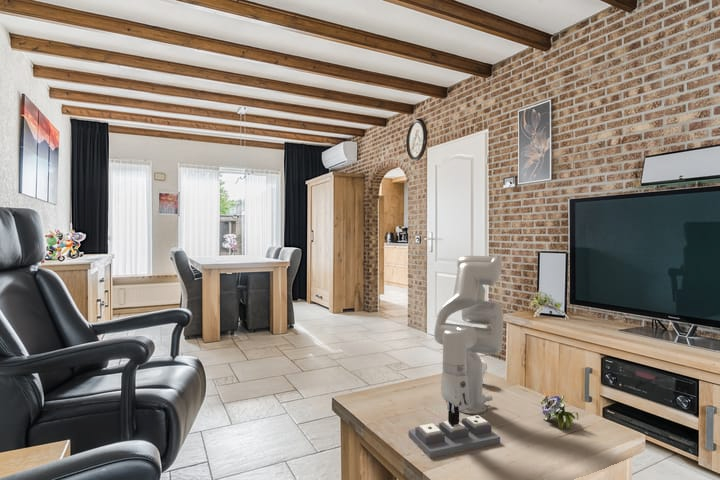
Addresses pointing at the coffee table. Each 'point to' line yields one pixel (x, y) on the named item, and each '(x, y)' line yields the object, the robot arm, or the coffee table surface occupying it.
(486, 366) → the light bulb
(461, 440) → the key board
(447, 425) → the three-dot tile
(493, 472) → the coffee table surface
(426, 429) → the one-dot tile
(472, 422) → the two-dot tile
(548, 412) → the passion flower
